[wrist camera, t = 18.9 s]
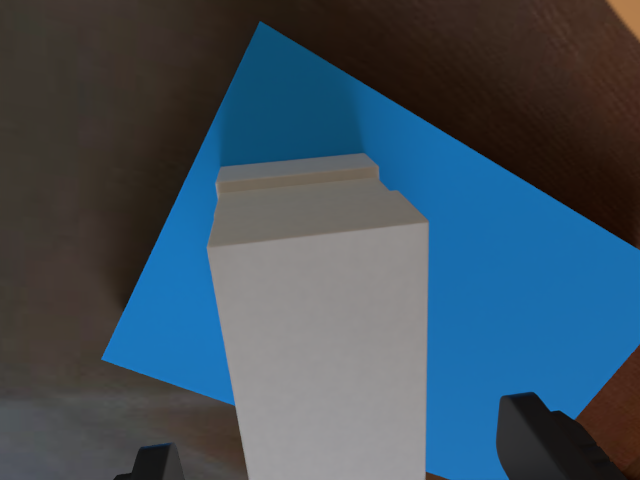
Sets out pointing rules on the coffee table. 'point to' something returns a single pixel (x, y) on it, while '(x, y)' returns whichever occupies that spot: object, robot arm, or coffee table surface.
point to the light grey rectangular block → (296, 180)
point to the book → (443, 259)
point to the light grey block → (326, 335)
